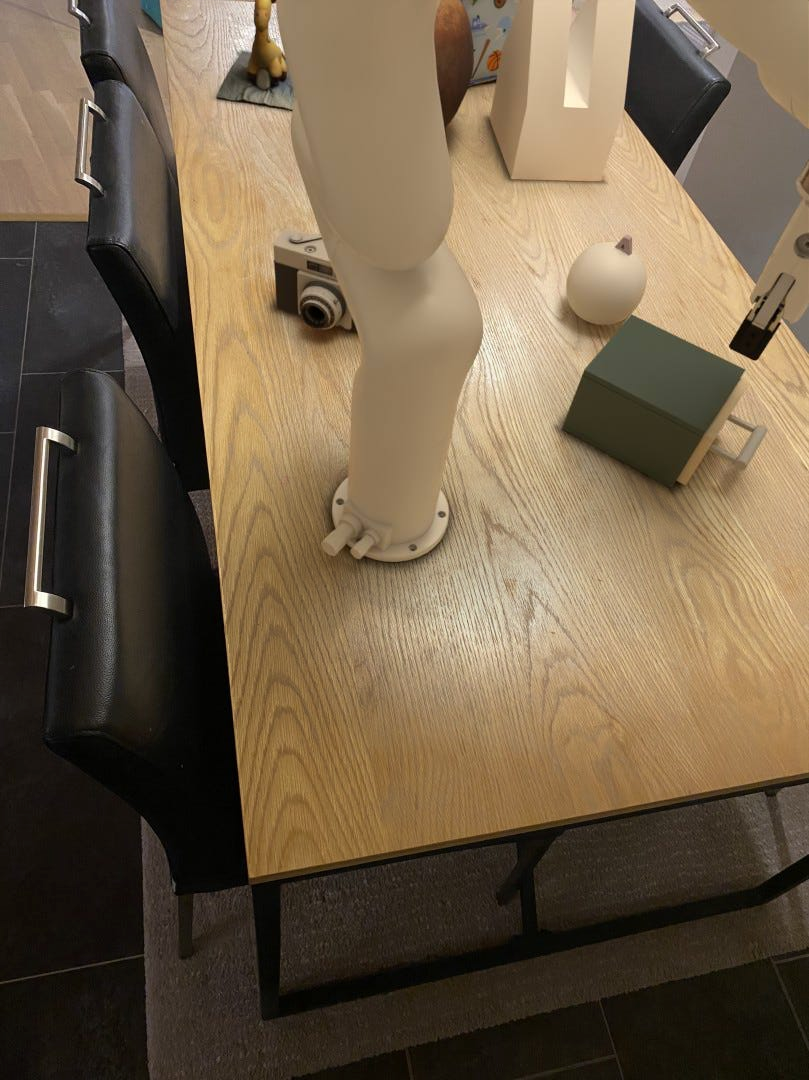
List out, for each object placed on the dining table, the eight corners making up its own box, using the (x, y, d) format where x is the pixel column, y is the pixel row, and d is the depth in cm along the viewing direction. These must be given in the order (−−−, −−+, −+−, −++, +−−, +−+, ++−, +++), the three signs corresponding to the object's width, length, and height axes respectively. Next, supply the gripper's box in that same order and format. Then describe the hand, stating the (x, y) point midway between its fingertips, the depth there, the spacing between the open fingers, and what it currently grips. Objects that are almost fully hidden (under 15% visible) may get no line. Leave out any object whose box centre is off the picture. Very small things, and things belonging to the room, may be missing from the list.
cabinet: (710, 427, 95) (745, 369, 87) (671, 488, 88) (705, 431, 80) (606, 374, 99) (631, 313, 91) (561, 429, 92) (584, 369, 84)
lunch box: (445, 98, 137) (464, -48, 119) (412, 73, 141) (425, -72, 123) (557, 70, 148) (590, -69, 130) (523, 47, 152) (550, -90, 134)
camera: (262, 325, 98) (256, 257, 90) (288, 288, 103) (286, 221, 94) (363, 356, 96) (367, 290, 88) (385, 318, 101) (391, 252, 93)
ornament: (634, 301, 108) (665, 225, 98) (627, 347, 102) (659, 270, 92) (563, 284, 109) (588, 206, 99) (552, 328, 103) (577, 250, 93)
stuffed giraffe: (216, 97, 129) (209, -13, 117) (242, 54, 140) (239, -50, 128) (308, 115, 130) (312, 8, 117) (328, 72, 141) (333, -30, 128)
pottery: (454, 176, 122) (480, -3, 102) (313, 151, 123) (312, -32, 102) (469, 109, 136) (495, -61, 115) (342, 87, 136) (346, -87, 116)
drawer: (755, 447, 92) (787, 401, 86) (721, 505, 86) (753, 460, 80) (622, 379, 97) (644, 330, 91) (582, 430, 91) (602, 382, 85)
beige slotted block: (489, 119, 134) (520, -52, 114) (572, 121, 136) (617, -45, 116) (511, 179, 123) (549, 2, 103) (601, 181, 126) (655, 8, 105)
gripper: (870, 236, 58) (754, 407, 73) (913, 165, 66) (800, 332, 81) (779, 196, 60) (683, 370, 75) (831, 132, 68) (735, 301, 83)
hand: (744, 350), depth 78 cm, fingers closed
